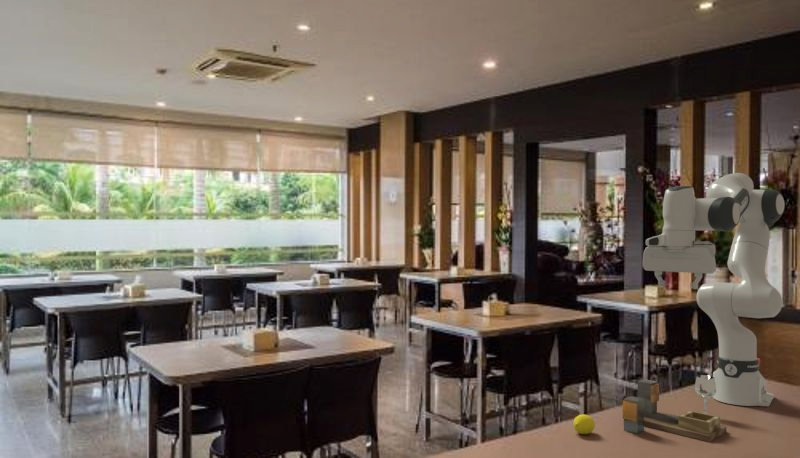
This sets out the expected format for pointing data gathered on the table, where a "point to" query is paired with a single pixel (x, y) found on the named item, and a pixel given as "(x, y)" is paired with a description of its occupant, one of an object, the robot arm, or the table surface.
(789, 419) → the table surface
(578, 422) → the lemon
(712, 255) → the robot arm
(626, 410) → the grey metal slab
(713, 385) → the wineglass
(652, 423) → the rail
